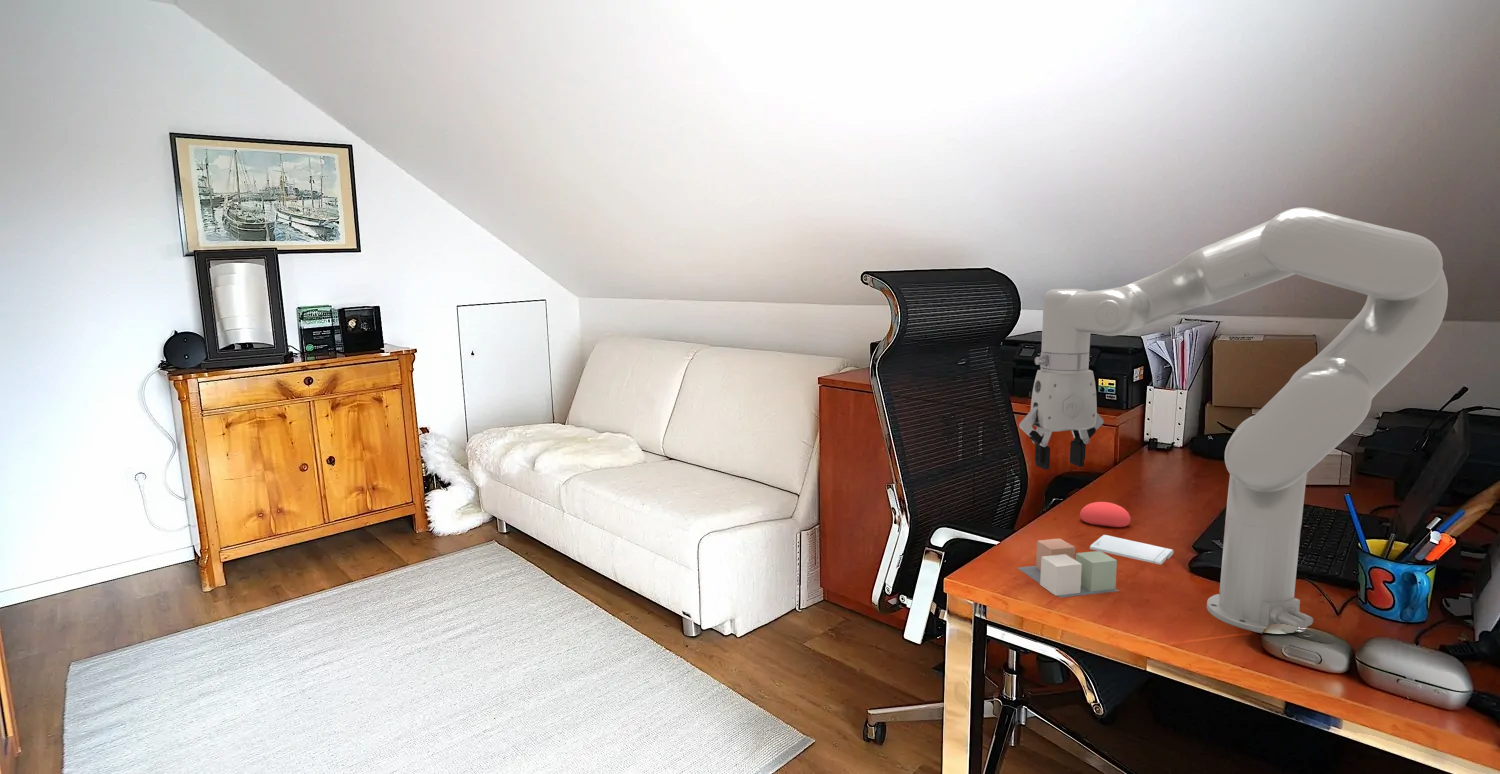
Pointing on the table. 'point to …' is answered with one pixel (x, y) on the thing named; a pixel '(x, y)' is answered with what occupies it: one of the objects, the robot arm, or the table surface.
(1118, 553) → the hard drive
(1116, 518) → the stress ball
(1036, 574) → the felt mat
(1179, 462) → the table surface
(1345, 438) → the robot arm
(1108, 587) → the block sage
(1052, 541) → the block terracotta
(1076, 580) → the block cream
